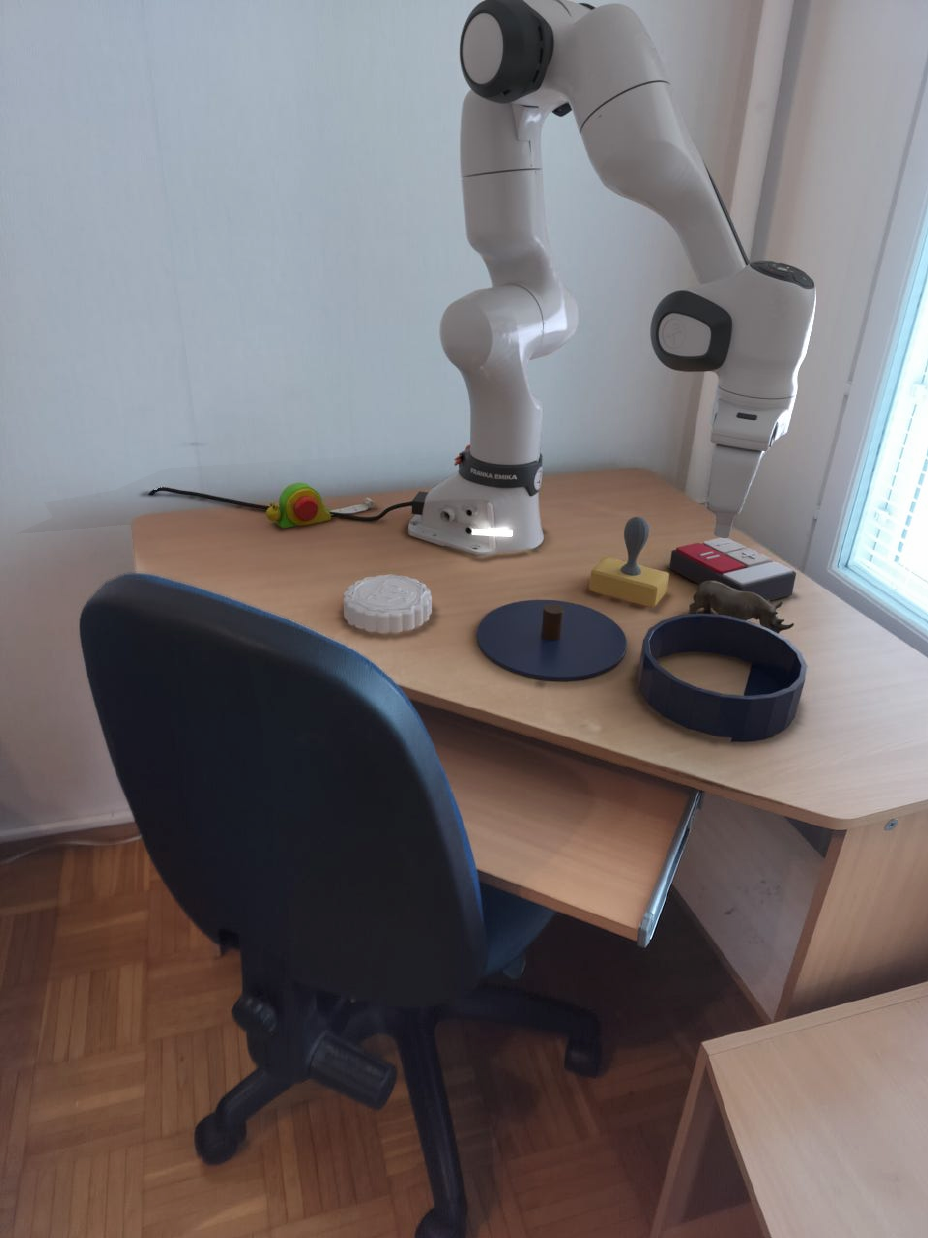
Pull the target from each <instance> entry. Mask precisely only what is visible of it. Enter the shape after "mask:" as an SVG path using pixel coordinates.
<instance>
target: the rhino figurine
mask: <svg viewBox="0 0 928 1238" xmlns="http://www.w3.org/2000/svg"><path fill="white" fill-rule="evenodd" d="M782 605H783V601H779V602H778V603H776V604H771V603H770V602H768V600H765V599H764V598H762V597H761V596H759V595H758V594H756V593H753V592H748V591H739V590H736V589H732V588H730V587H728V586H726V585H724V584H722V583H720V582H717V581H705V582H703V583H701V584H700V585H699V584H698V586H697V589H696V592H695V593H694V595H693V602H692V603H690V604H689V611H688V614H698V613H697V611H699V610H700V609H702V613H703V614H713V615H715V613H716V614H717V615H725V616H729V617H734V618H738V619H743V620H747V621H749V620H751V619H754V620H758V622H759V625H760V626H763V627H766V628H768V629H771V630H772V631H774V632H776V633H777V634H779V635H780V633H781V632H782V631H785V630H786V631H787V630H789V629H791V628H793V627H794V625H795V623H794V622H792V623H790V624H784V623H783V622H784V621H785V619H784V618H779V617H778V616H777V615H778V613H779V612H778V611H777V610H778V609H780V608H781V607H782ZM713 611H714V612H715V613H714V612H713ZM688 614H687V615H688Z"/></svg>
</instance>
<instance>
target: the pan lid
mask: <svg viewBox="0 0 928 1238" xmlns="http://www.w3.org/2000/svg"><path fill="white" fill-rule="evenodd" d="M476 641H477V645H478V647H479V649H480V651H481V652H482V653H483V655H484V656H485V657H486V658H487V659H488V660H490V661H491V662H492V663H494V664H495V665H497V666H498V667H500V668H502V669H504V670H506V671H509V672H511V673H514V674H516V675H519V676H523V677H526V678H531V679H535V680H541V681H551V682H572V681H573V682H574V681H580V680H588V679H591V678H596V677H598V676H601V675H603V674H606V673H607V672H609V671H611V670H613V669H614V668H615V667H617V665H619V664H620V663H621V662H622V660H623V659H624V657H625V655H626V653H627V647H628V646H627V645H628V644H627V638H626V635H625V633H624V631H623V630H622V628H621V627H620V625H618V624H617V622H615V621H614V620H613V619H612V618H610V617H609V616H608V615H606V614H604V613H602V612H600V611H598V610H596V609H594V608H591V607H588V606H586V605H582V604H579V603H574V602H570V601H564V600H557V599H528V600H520V601H515V602H511V603H507V604H504V605H501V606H499V607H497V608H495V609H494V610H492V611H490V612H488V613H487V614H486V615H485V616H484V617H483V618H482V619H481V620H480V622H479V624H478V626H477V629H476Z"/></svg>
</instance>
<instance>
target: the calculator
mask: <svg viewBox="0 0 928 1238" xmlns="http://www.w3.org/2000/svg"><path fill="white" fill-rule="evenodd" d="M669 570H672V571H673V572H676V573H677V574H679V575H681V576H682V577H684V578H686V579H688V580H690V581H692V582H693V583H695V584H697V585H698V586H699V585H700V584H701V583H703V582H705V581H717V582H720V583H722V584H724V585H726V586H728V587H730V588H732V589H736V590H739V591H748V592H753V593H756V594H758V595H759V596H761V597H762V598H764V599H765V600H766V601H770V602H771V601H774V600H779V599H782V598H785V597H789V596H792V595H793V592H794V587H795V582H796V577H797V572H795V571H794V570H793V569H792V568H789V567H787V566H785V565H783V564H781V563H779V562H777V561H773V560H772V558H771V557H769V556H767V555H765V554H763V553H761V552H758V551H756V550H754V549H752V548H747V547H746V545H743V544H742V543H739V542H737V541H735V540H733V539H731V538H729V537H727V538H722V537H717V538H713V539H708V540H705V541H702V543H701V542H695V543H691V544H687V545H682V546H677V547H676V548H675V549H673V550H671V552H670V560H669Z"/></svg>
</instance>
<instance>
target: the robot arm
mask: <svg viewBox="0 0 928 1238" xmlns="http://www.w3.org/2000/svg"><path fill="white" fill-rule="evenodd" d="M459 41H460V42H459V62H460V67H461V72H462V75H463V78H464V80H465V82H466V84H467V85H468V87H469V88H470V90H468V92H467V93H466V95H465V96H464V99H463V102H462V108H461V119H460V132H459V133H460V134H459V160H460V161H459V164H460V165H459V166H460V178H461V180H460V181H461V190H462V191H461V192H462V202H463V214H464V215H463V216H464V227H465V236H466V240H467V242H468V244H469V246H470V248H472V249H473V251H475V252H476V253H477V254H478V255H479V256H480V258H482V261H483V262H484V264H485V267H486V270H487V272H488V275H489V278H490V281H491V286H490V287H486V288H479V289H476V290H473V291H471V292H469V293H467V294H465V295H463V296H461V297H460V298H458V299H456V300H454V301H453V302H451V303H450V304H449V305H448V306H447V307H446V308H445V309H444V311H443V314H442V316H441V318H440V321H439V333H438V334H439V341H440V345H441V348H442V351H443V354H444V355H445V356H446V358H447V360H448V361H449V362H450V363H451V364H452V366H455V368H457V370H459V372H460V374H461V376H462V378H463V382H464V384H465V387H466V391H467V395H468V400H469V411H470V412H469V414H470V415H469V425H470V426H469V444H467V445H466V446H465V448H464V450H462V451H461V452H459V455H458V456H457V457H455V458H454V461H455V462H454V467H456V466H458V470H457V471H455V472H454V473H452V474H451V475H449V476H448V477H446V478H445V479H443V480H441V481H440V482H439V483H438V484H436V485H434V487H432V488H431V489H430V490H429V491H420V490H419V491H418V492H417V494H416V495H415V496H414V497H413V499H411V500H410V501H405V502H400V503H396V504H392V505H390V506H388V507H386V508H385V509H384V510H382V511H381V512H380V513H379V514H378V515H374V516H357V515H352V514H349V513H347V514H344V513H337V512H330V515H331V517H336V518H342V519H348V520H353V521H359V522H375V521H378V520H381V519H382V518H384V517H385V515H387V514H388V513H390V512H392V511H395V510H397V509H401V508H406V507H411V515H414V516H413V517H412V518H411V519H410V520H409V522H408V525H407V534H408V535H409V536H411V537H412V538H413V537H414V538H417V539H418V540H419V539H420V540H422V541H425V542H428V543H432V544H435V545H437V546H441V547H445V546H446V547H450V548H452V549H456V550H458V551H461V552H465V553H468V554H471V555H474V556H477V557H487V556H490V555H495V554H503V553H515V552H523V551H527V550H534V549H536V548H538V547H539V546H541V544H543V542H544V540H545V536H544V532H543V527H542V521H541V513H540V512H541V511H540V496H539V494H540V493H539V492H540V491H541V487H542V481H543V471H544V470H543V468H544V467H543V457H544V456H543V454H542V453H541V449H542V435H543V434H542V433H543V422H544V421H543V420H544V406H543V403H542V401H541V399H539V397H538V396H537V395H536V394H534V393H533V392H532V389H531V386H530V385H531V384H530V380H529V374H528V373H529V372H528V365H529V362H530V361H532V360H535V359H539V358H542V357H546V356H549V355H551V354H553V353H554V352H557V350H559V349H561V348H562V347H563V346H564V345H566V344H567V343H568V342H569V341H570V340H571V339H572V338H573V337H574V335H575V334H576V331H577V328H578V327H579V326H578V325H579V321H580V311H579V306H578V303H577V300H576V298H575V296H574V294H573V293H572V291H571V290H570V289H569V288H568V287H567V286H566V285H565V283H564V282H563V281H562V278H561V277H560V273H559V271H558V268H557V265H556V263H555V259H554V256H553V253H552V249H551V245H550V241H549V240H550V239H549V236H548V230H547V220H546V206H545V191H544V190H545V189H544V173H543V172H544V171H543V156H542V132H543V131H542V130H543V128H544V127H543V126H544V124H545V122H546V119H547V118H548V117H549V115H550V114H553V115H555V116H557V117H559V118H563V117H565V116H566V115H569V114H570V113H571V112H572V113H573V116H574V120H575V123H576V126H577V129H578V132H579V135H580V138H581V141H582V144H583V147H584V150H585V153H586V155H587V158H588V160H589V162H590V165H591V166H592V168H593V170H594V172H595V173H596V175H597V177H598V178H599V180H600V181H601V183H602V184H603V186H604V187H606V188H607V190H610V192H612V193H613V194H616V195H618V196H620V197H621V198H623V199H627V200H630V201H631V202H634V203H637V204H639V205H641V206H643V207H645V208H646V209H648V210H651V212H653V213H656V215H659V216H660V217H661V218H662V219H664V221H666V222H667V223H668V225H670V226H671V228H672V229H673V231H674V232H675V234H676V236H677V237H678V240H679V242H680V243H681V246H682V248H683V251H684V253H685V255H686V257H687V260H688V262H689V264H690V267H691V269H692V271H693V273H694V276H695V278H696V280H697V283H698V284H695V285H691V286H687V287H682V288H680V289H677V290H675V291H673V292H670V293H668V294H667V295H666V296H664V297H663V298H662V299H661V300H660V301H659V302H658V303H657V306H656V308H655V309H654V312H653V315H652V316H651V317H652V318H651V321H650V329H649V331H650V332H649V333H650V343H651V346H652V349H653V353H654V354H655V355H656V357H657V359H658V360H659V361H660V362H661V364H662V365H664V366H665V367H667V368H668V369H670V370H673V371H678V372H684V373H698V372H699V373H700V372H701V373H703V372H712V373H715V374H716V375H717V386H716V391H715V395H714V402H713V406H712V411H711V416H710V425H711V433H710V438H709V439H710V442H711V443H712V444H714V448H713V453H712V460H711V468H710V476H709V477H710V478H709V488H708V500H707V501H708V509H709V510H711V511H713V512H715V526H714V531H713V534H714V536H715V537H717V538H729V536H730V534H731V532H732V527H733V522H734V519H735V516H739V514H740V513H741V511H742V510H743V508H744V505H745V502H746V500H747V498H748V494H749V491H750V489H751V486H752V484H753V481H754V479H755V477H756V473H757V471H758V469H759V467H760V464H761V461H762V459H763V457H764V455H765V454H766V452H768V451H769V450H770V448H771V447H772V446H773V444H774V443H775V442H776V441H777V440H778V439H779V438H780V437H783V436H785V435H787V433H788V431H789V425H790V422H791V418H792V413H793V409H794V405H795V401H796V397H797V392H798V374H799V370H800V367H801V364H802V363H803V361H804V359H805V358H806V355H807V351H808V347H809V344H810V338H811V334H812V328H813V323H814V316H815V309H816V300H817V299H816V297H817V293H816V292H817V291H816V285H815V282H814V280H813V278H812V277H810V275H809V274H807V272H805V271H804V270H802V269H800V268H798V267H795V266H794V265H790V264H788V263H783V262H775V261H773V260H757V261H756V260H755V261H752V262H750V259H749V258H748V256H747V254H746V250H745V249H744V247H743V244H742V241H741V239H740V237H739V235H738V232H737V230H736V228H735V225H734V224H733V221H732V218H731V216H730V214H729V212H728V209H727V207H726V205H725V202H724V200H723V198H722V196H721V194H720V191H719V189H718V187H717V185H716V182H715V179H714V178H713V177H712V175H711V173H710V171H709V169H708V167H707V165H706V164H705V161H704V160H703V158H702V157H701V154H700V153H699V151H698V148H697V147H696V145H695V143H694V141H693V139H692V136H691V134H690V132H689V129H688V127H687V125H686V122H685V120H684V118H683V115H682V112H681V110H680V108H679V105H678V102H677V99H676V95H675V92H674V91H673V88H672V85H671V81H670V79H669V76H668V73H667V70H666V69H665V68H666V67H665V65H664V63H663V61H662V59H661V56H660V54H659V52H658V50H657V48H656V45H655V44H654V41H653V40H652V38H651V35H650V34H649V32H648V30H647V29H646V27H645V25H644V23H643V22H642V20H641V19H640V17H639V16H638V13H636V12H635V10H633V9H632V8H631V7H629V6H627V5H624V4H622V3H606V4H603V5H600V6H598V7H596V6H594V5H591V4H590V3H585V2H579V3H578V2H575V1H572V0H483V1H480V2H478V4H477V5H475V6H474V7H473V9H472V10H470V13H469V14H468V16H467V18H466V20H465V22H464V24H463V28H462V31H461V34H460V40H459ZM159 487H160V488H158V487H157V488H158V489H157V490H154V489H155V488H153V489H151V490H150V491H149V493H148V494H147V495H148V496H153V495H156V493H158V492H159V493H160V492H167V493H173V494H176V495H184V496H191V497H197V498H202V499H207V500H212V501H215V502H216V501H217V502H220V503H226V504H231V505H236V506H240V507H241V506H242V507H247V508H252V509H258V510H264V511H267V509H268V508H269V507H271V506H270V505H264V504H259V503H252V502H247V501H241V500H236V499H231V498H226V497H222V496H216V495H211V494H206V493H201V492H196V491H191V490H182V489H176V488H172V487H168V486H159ZM161 487H162V488H161ZM278 508H279V506H278ZM332 514H333V515H332Z"/></svg>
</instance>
